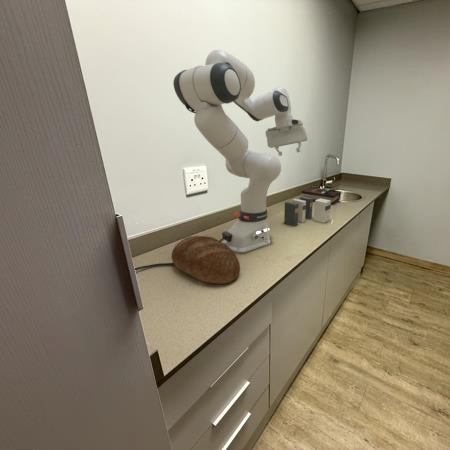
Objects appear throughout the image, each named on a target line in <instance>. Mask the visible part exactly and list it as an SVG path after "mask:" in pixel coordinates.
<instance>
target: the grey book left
mask: <svg viewBox="0 0 450 450" xmlns="http://www.w3.org/2000/svg"><path fill="white" fill-rule="evenodd" d="M298 205H299V204H298V203H293V201H285V202H284V213H283V214H284V218H283V224H285V225H289V226H293V227H296V226H298V223H299V222H298V211H299V208H298Z"/></svg>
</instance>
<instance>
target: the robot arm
mask: <svg viewBox="0 0 450 450" xmlns="http://www.w3.org/2000/svg"><path fill="white" fill-rule="evenodd" d="M204 64H205V65H198V66H197V65H196V66H194V67H190V68H188V69H183V70H181V71H180V72H178V73H177V74H176V75H175V76H174V78H173V83H172V84H173V90H174V92H175V95H176V96H177V98H178V100H179V101H180V102H181V104H182V105H184V106H185V108H186V110H187V111H188V112H191V113H193V114H194V116H193V117H194V118H193V121H194V125H195V127H196V128H197V130H198V131H199V132H200V135H202V137H204V139H205V140H206V141H207V142H208V143H209V144H210V145H211V146H212V147H213V148H214V149H215V150H216V151H217V152H218V153H219V154H220V155H222V156H223V158H224V159H225V168H226V170H227V172H229V173H230V174H231V175H234V176H236V177H239V178H244V179H249V183H248V186H246V187H245V188H243V189H242V190H241V192H240V210H239V212H237V211H235V212H234V213H233V217H235V218H237V220H236V221H235V222H234V224H233V225H232V226H231V227H230V228H229V229H228V230H227V231H222V232H221V234H222V237H221V239H220V240H219V241H220V242H222V243H224V244H226V245H227V246H228V247H229V248H230V249H231V250H232V251H233V252H234V253H238V254H244V253H247V252H251V251H253V250H257V249H260V248H263V247H265V246H268V245H271V243H272V241H271V237H270V232H269V231H270V228H269V225H268V220H267V219H268V209H267V199H268V198H267V195H268V191H269V188H270V186H271V184H272V183H273V182H274V181H275V180H276V179H277V178H278V177H279V176H280V174H281V171H282V164H281V161H280V159H279V157H280V156H283V152H282V151H280V150H279V149H280V147H283V146H288V145H294V144H297V145H298V146H297V147H296V153H301V146H302V143H303V142H307V141H308V133H307V129H306V128H305V126H304V123H303V121H302V119H298V118H293V114H292V105H291V104H292V103H291V100H290V96H289V93H288V90H287V89H286V88H284V87H280V86H279V87H275V88H273V89H272V90H271V91H268V92H265V93H264V94H260V95H258V96H255V97H251V96H252V94H253V93H254V90H255V87H256V79H255V75H254V73H253V71H252V70H251V69H250V67H249V66H248V65H246V64H245V63H244V62H243V61H241V60H240V59H239V58H237V57H236V56H234V55H232V54H230V53H228V52H227V51H225V50H223V49H214V50H211V51H210V52H209V53H208V55H207V57H206V59H205V63H204ZM231 103H234V104H235V105H236V106H237V107H238V108H240V109H241V110H242V111H244V112H245V113H246V114H247V116H249V118H250V119H251V120H253V121H254V122H260V121H263V120H264V119H267V118H271V117H274V123H275V126H274V127H271V128H267V130H265V138H266V143H267V144H266V145H267V147H268V148H269V149H273V148H274V149H275V150H276V152H277V154H278V156H279V157H277V156H276V155H273V154H271V153H267V152H259V151H258V152H257V151H251V150H250V149H249V139H248V137H247V136H246V135H245V133H243V131H242V130H241V129H240V128H239V127H238V126H237V124H236V123H235V122H234V121H233V120H232V118H230V117H229V116H228V115H227V114H226V112H225V110H224V108H223V105H225V104H231ZM157 266H158V267H159V266H175V265H174V263H173V262H166V263H165V262H164V263H160V262H159V263H153V264H147V265H143V266H138V267H135V268H134V269H135V270H136V271H138V270H141V269H146V268H147V269H148V268H152V267H157Z"/></svg>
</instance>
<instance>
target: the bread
mask: <svg viewBox="0 0 450 450" xmlns="http://www.w3.org/2000/svg"><path fill="white" fill-rule="evenodd" d="M222 242H223V241H221V242H220V240H218V239H217V238H215V237H211V236H207V235H206V236H205V235H193V236H188V237H185V238H183V239H182V240H180V241H179V242H178V243H177V244H175V246H174V247H173V249H172V252H171V261H172V263H174V265H173V266H175V267H176V268H177V269H178V270H180V271H181V272H183V273H185V274H187V275H189V276H191V277H193V278H195V279H196V280H198V281H200V282H203V283H208V284H227V283H228V284H229V283H232V282H233V281H234V280H235V279H236V278H238V276H239V274H240V272H241V263H240V261H239V258H238V256H237V255H236V252H233V251H232V250H231V249H230V248H229V247H228V246H227V245H226V244H224V243H222Z"/></svg>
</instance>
